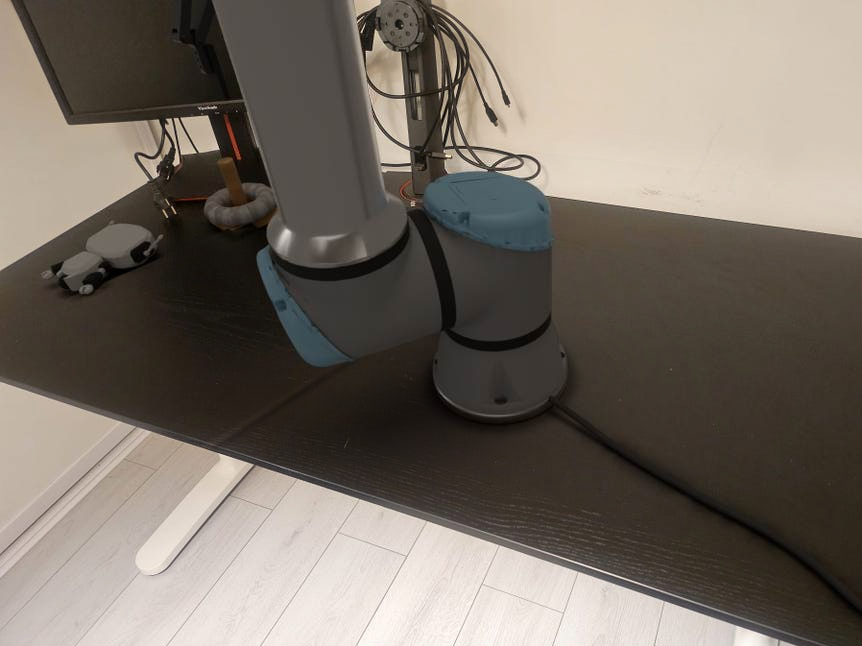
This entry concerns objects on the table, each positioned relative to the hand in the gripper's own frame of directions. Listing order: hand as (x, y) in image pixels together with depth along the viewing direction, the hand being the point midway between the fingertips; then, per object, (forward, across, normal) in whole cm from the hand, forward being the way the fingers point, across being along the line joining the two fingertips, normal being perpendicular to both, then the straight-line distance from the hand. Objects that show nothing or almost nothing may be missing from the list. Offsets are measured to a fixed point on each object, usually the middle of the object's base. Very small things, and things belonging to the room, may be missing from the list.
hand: (269, 84), depth 83 cm
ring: (+20, +4, -14) cm, 25 cm away
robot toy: (+23, +26, -17) cm, 39 cm away
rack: (+23, +4, -15) cm, 28 cm away
